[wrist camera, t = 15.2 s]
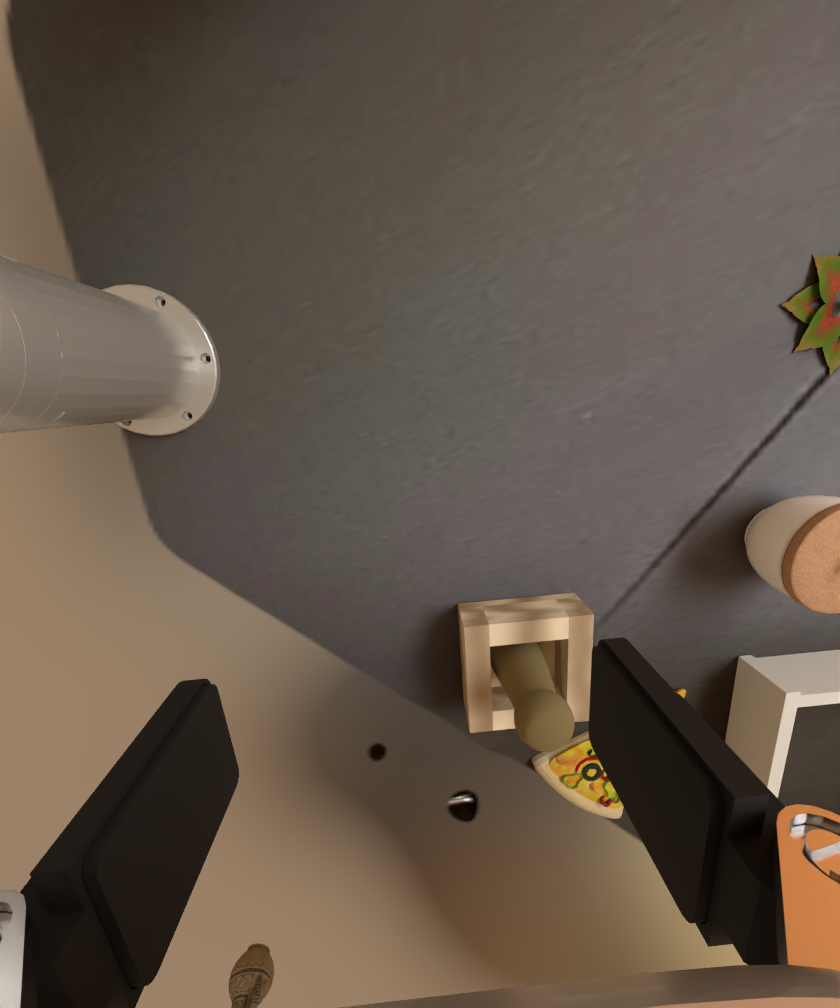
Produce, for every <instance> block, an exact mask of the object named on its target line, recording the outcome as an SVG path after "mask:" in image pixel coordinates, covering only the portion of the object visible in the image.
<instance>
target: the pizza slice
mask: <svg viewBox="0 0 840 1008" xmlns="http://www.w3.org/2000/svg"><path fill="white" fill-rule="evenodd" d="M675 692H676V693H678V694H680V695H681V696H682V697H683V698H684V697H685V694H686V690H685V689H678V690H676V691H675ZM532 763H533V765H534V767H535V769H536V771H537V772H538V773H539V774H540V775H541V776H542V777H543V778H544V780H545V781H546V782H547V783H548V784H549V785H550V786H551V787H552V788H553V789H554V790H555V791H557V792H558V793H559V794H560V795H562V796H563V797H564V798H565V799H567V800H568V801H570V802H571V803H573V804H574V805H576V806H578V807H580V808H582V809H584V810H586V811H588V812H592V813H595V814H598V815H601V816H604V817H607V818H612V819H617V818H620V817H621V815H622V811H623V807H624V806H623V804H622V802H621V801H620V799H619V797H618V795H617V793H616V791H615V789H614V788H613V786H612V784H611V782H610V780H609V778H608V777H607V775H606V773H605V771H604V769H603V767H602V765H601V764H600V762H599V760H598V758H597V756H596V754H595V752H594V751H593V748H592V746H591V743H590V739H589V732H588V731H587V732H585V733H583V734H581V735H579V736H577V737H574V738H572V739H570V740H569V741H568V743H567V744H565V745H564V746H563V747H561V748H559V749H557V750H554V751H548V752H542V753H539V754H537V755H535V756H534V757H533V758H532Z"/></svg>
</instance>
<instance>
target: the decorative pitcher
mask: <svg viewBox="0 0 840 1008" xmlns="http://www.w3.org/2000/svg"><path fill="white" fill-rule="evenodd" d="M273 977H274V963H273V960H272V957H271V955H270V950H269V948H268V946H266V945H264V944H252V945H250V946H249V947H248V949H247V951H246V952H245V953H244V954H243V955H242V956H241V957H240V958H239V959H238V961H237V962H236V964H235V965H234V967H233V969H232V972H231V975H230V979H229V995H230V999H231V1002H232V1007H231V1008H257V1006H258V1005H259V1004H260V1003H261V1002H262V1001H263V999H264V998H265V996H266V995H267V994H268V992H269V990H270V988H271V985H272V982H273Z"/></svg>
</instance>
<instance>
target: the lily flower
mask: <svg viewBox="0 0 840 1008" xmlns="http://www.w3.org/2000/svg"><path fill="white" fill-rule="evenodd" d="M813 257H814V259H815V263H816V267H817V268H818V270H817V272H818V276H819V283H816V284H813V285H811V286H809V287H807V288H806V289H804V290H803V291H801V292H800V293H798V294H797V295H795V296H794V297H793V298H792V299H791V300H790V301H789V302H786V303H784V304H782V306H784V307H786V309H788V310H789V311H790V312H793V315H795V316H796V317H797V318H799V319H800V320H801V321H803V322H804V323H806V324H810V325H809V327H808V329H807V330H806V332H805V334H804V335H803V337H802V339H801V341H800V344H799V346H798V347H797V348H796V349H795V351H794V352H797V351H801V350H807V349H809V348H812V349H813V348H819V347H822V349H823V352H824V355H825V358H826V362H827V365H828V366H829V368H830V369H829V371H830V375H831V374H832V372H833V370H835V369H836V368H837V367H838V366H839V365H840V339H839V340H838V341H837V342H836V344H835V340H836V339H837V338H838V337H839V336H840V317H835V316H832V309H833V303H834V299H835V296H836V292H838V291H840V256H834V255H826V256H823V257H820V256H819V255H815V254H813ZM819 297H821V298H822V300H823V301H824V302H825V303H826V304H825V305H823V306H822V307H821V308H820V309H819V310H818V311H816V310H815V309H813V308H812V307H811V306H809V305H808V304H810V303H811V302H813V301H814V300H816V299H818V298H819ZM794 352H793V353H794Z"/></svg>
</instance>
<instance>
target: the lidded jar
mask: <svg viewBox="0 0 840 1008" xmlns="http://www.w3.org/2000/svg"><path fill="white" fill-rule="evenodd" d="M744 542H745V546H746V553H747V557H748V559H749V561H750V563H751V565H752V567H753V568H754V570H755V571H756V572H757V573H758V575H759V576H760V577H761V578H763V579H764V580H765V581H766V582H767V583H768V584H769V585H771V586H772V587H774V588H775V589H777V590H778V591H780V592H781V593H783V594H785V595H787V596H788V597H790V598H792V599H794V600H795V601H796V602H798V603H799V604H801V605H803V606H804V607H806V608H808V609H810V610H813V611H816V612H820V613H840V497H834V496H820V495H808V496H799V497H793V498H789V499H786V500H783V501H780V502H778V503H775V504H774V505H772V506H770V507H768V508H765V509H763V510H762V511H760V512H759V513H757V514H756V515H755V516H754V517H753V518H752V520H751V521H750V522H749V524H748V526H747V528H746V531H745V536H744Z"/></svg>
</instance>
